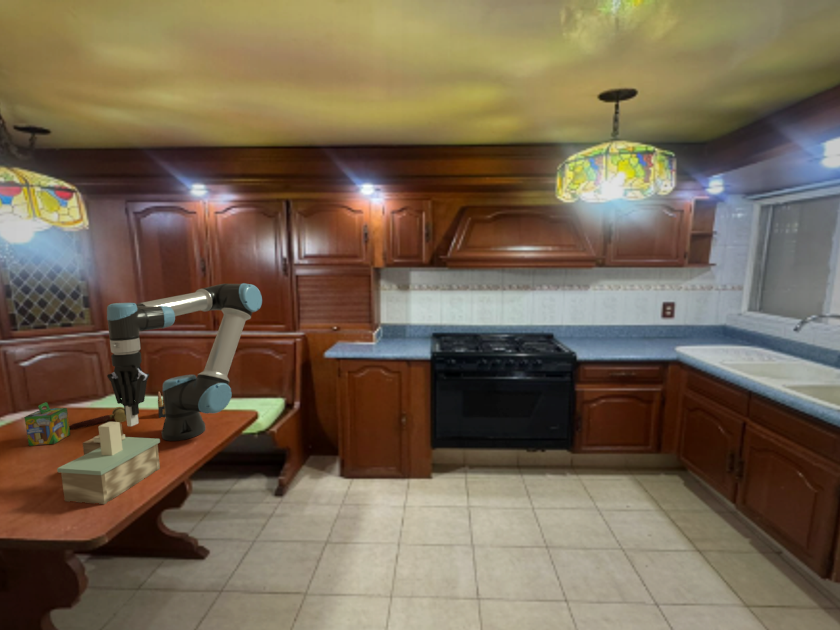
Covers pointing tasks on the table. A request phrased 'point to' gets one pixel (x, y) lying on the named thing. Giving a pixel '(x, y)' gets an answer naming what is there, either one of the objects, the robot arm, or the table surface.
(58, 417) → the chalk box
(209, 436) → the table surface
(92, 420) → the gavel
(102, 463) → the lid
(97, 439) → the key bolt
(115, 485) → the tan open box
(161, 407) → the ammunition clip
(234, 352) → the robot arm
